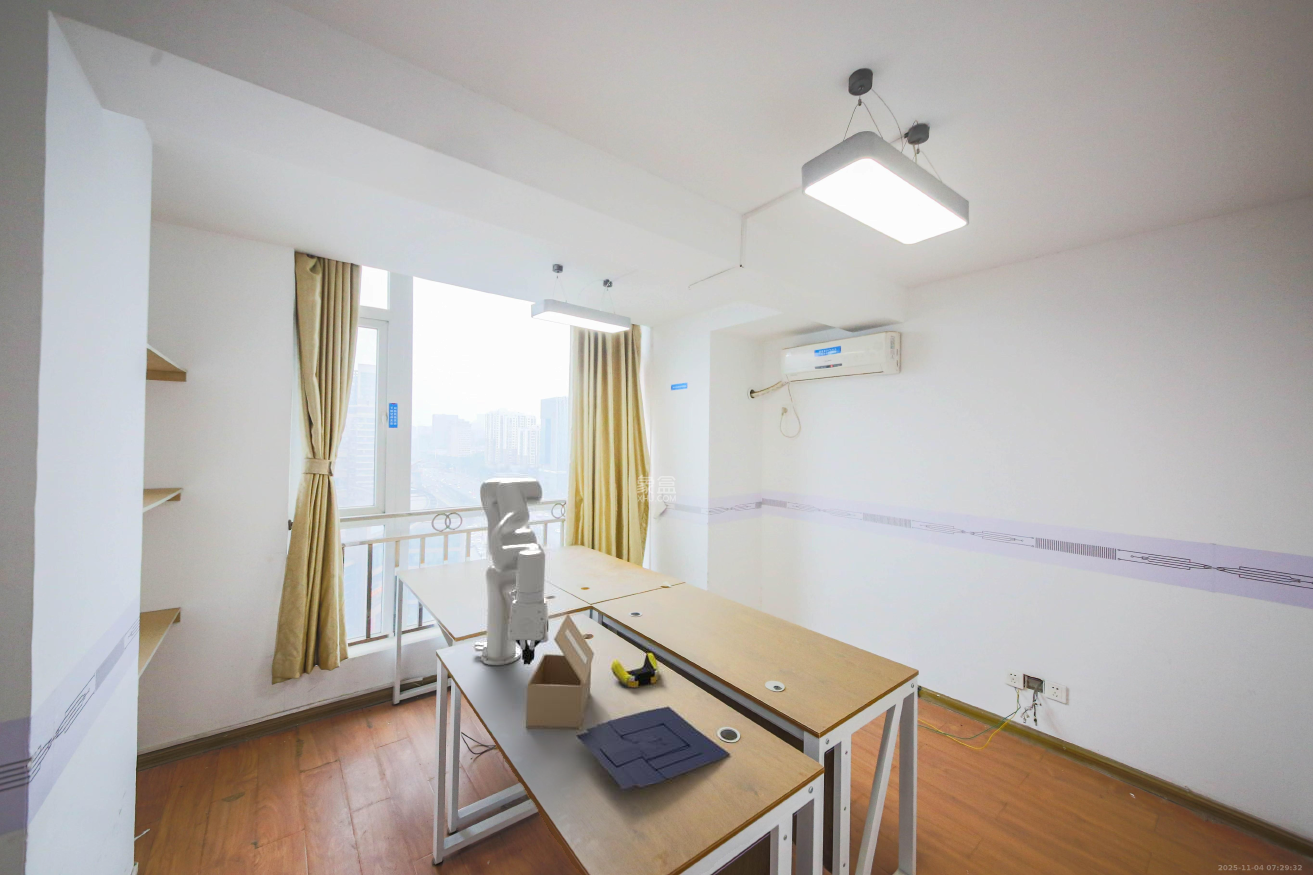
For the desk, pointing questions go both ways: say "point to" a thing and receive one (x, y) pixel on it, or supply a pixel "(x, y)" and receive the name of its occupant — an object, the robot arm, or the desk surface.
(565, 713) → the carton
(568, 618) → the flap
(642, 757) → the folded navy cloth
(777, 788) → the desk surface
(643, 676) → the gaming controller
